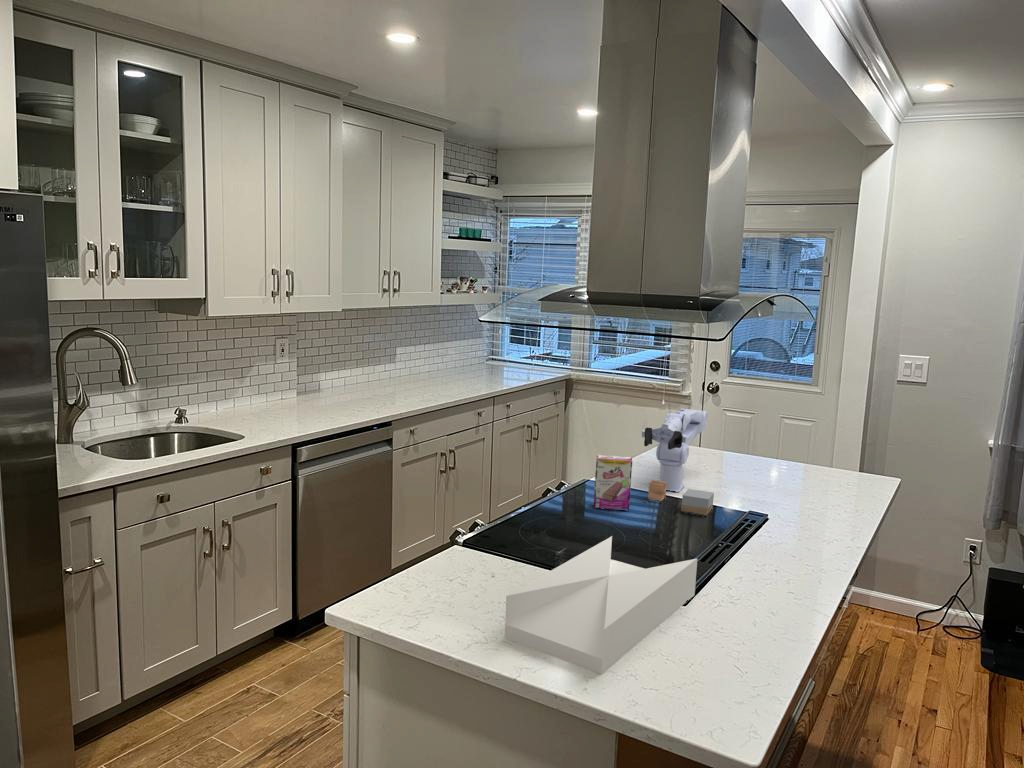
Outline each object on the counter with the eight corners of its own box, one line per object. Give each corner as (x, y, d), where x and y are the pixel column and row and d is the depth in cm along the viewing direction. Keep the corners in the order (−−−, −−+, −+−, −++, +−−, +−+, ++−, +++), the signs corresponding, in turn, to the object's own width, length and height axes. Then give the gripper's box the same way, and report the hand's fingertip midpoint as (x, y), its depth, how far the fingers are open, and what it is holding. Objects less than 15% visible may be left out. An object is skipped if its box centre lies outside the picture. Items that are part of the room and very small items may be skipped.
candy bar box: (593, 509, 240) (596, 458, 238) (593, 504, 245) (596, 454, 243) (629, 511, 239) (632, 460, 237) (628, 507, 244) (631, 456, 242)
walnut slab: (687, 506, 248) (687, 497, 247) (712, 511, 244) (712, 502, 244) (680, 513, 241) (681, 504, 240) (706, 518, 237) (707, 508, 237)
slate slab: (687, 497, 247) (688, 488, 247) (713, 501, 244) (713, 492, 244) (682, 504, 240) (682, 495, 240) (708, 508, 237) (708, 499, 236)
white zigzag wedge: (609, 572, 193) (612, 536, 191) (694, 596, 180) (697, 557, 179) (504, 640, 156) (506, 595, 155) (601, 676, 144) (604, 628, 142)
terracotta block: (651, 497, 255) (653, 480, 254) (665, 500, 253) (666, 482, 252) (647, 501, 251) (649, 483, 250) (661, 503, 249) (662, 485, 248)
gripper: (647, 416, 259) (635, 430, 248) (690, 422, 253) (680, 436, 241) (647, 436, 261) (634, 450, 250) (690, 442, 255) (679, 457, 243)
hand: (657, 444), depth 246 cm, fingers open, 7 cm apart
